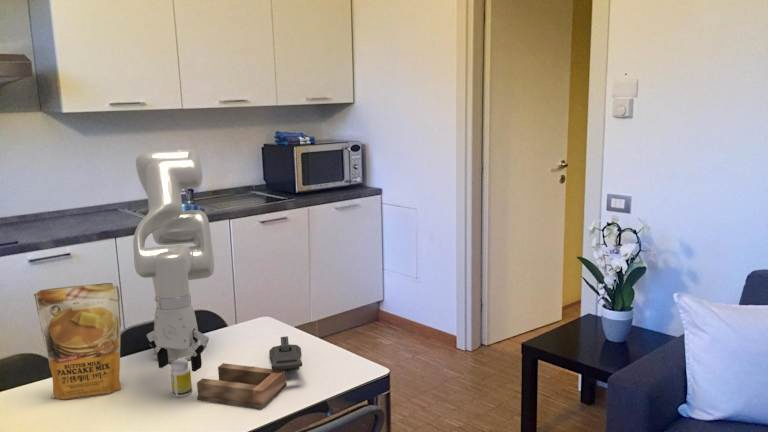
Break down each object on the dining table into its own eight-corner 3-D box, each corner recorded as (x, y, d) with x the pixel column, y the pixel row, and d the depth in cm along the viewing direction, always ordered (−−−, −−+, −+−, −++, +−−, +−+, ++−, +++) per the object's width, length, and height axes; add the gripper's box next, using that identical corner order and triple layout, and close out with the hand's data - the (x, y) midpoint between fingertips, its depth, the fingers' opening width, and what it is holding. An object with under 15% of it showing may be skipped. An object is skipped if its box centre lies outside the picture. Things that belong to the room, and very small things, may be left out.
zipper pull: (268, 366, 164) (268, 331, 189) (270, 391, 166) (269, 353, 190) (304, 363, 166) (299, 328, 190) (306, 387, 167) (300, 350, 191)
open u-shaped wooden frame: (197, 400, 161) (195, 383, 160) (225, 378, 173) (224, 362, 173) (262, 409, 156) (261, 392, 155) (286, 386, 168) (285, 369, 167)
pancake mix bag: (50, 391, 168) (36, 287, 163) (129, 381, 173) (118, 279, 168) (44, 403, 162) (30, 295, 156) (126, 392, 167) (115, 287, 161)
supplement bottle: (195, 390, 167) (193, 359, 165) (184, 398, 163) (181, 366, 161) (180, 388, 168) (177, 357, 167) (168, 396, 164) (165, 364, 162)
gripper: (134, 304, 160) (141, 370, 162) (195, 308, 154) (201, 376, 157) (154, 295, 167) (160, 359, 170) (213, 299, 161) (218, 365, 164)
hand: (180, 367), depth 163 cm, fingers open, 9 cm apart
